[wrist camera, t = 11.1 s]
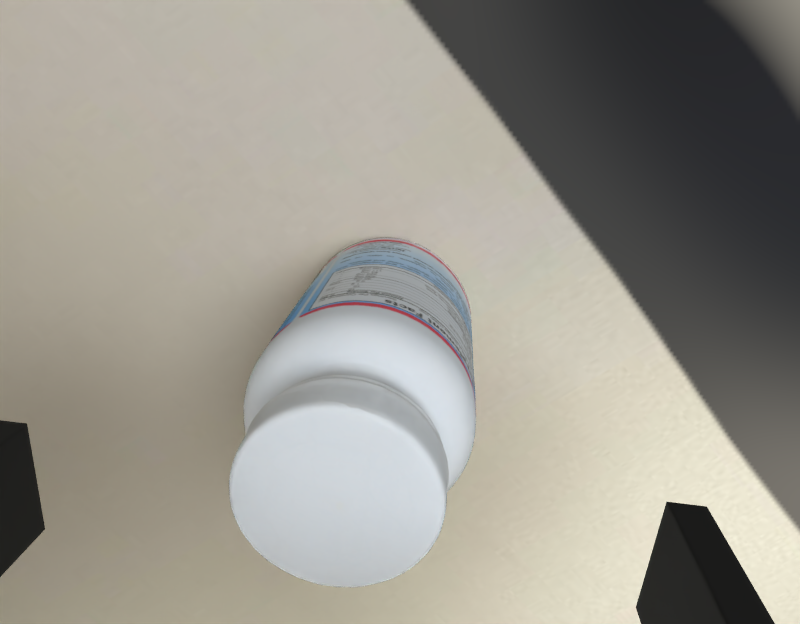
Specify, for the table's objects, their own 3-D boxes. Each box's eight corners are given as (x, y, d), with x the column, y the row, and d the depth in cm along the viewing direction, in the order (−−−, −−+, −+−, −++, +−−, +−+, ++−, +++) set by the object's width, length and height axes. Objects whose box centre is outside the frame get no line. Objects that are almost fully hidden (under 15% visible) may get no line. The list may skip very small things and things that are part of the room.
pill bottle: (379, 408, 24) (318, 654, 14) (280, 294, 23) (132, 472, 13) (503, 328, 23) (541, 541, 12) (405, 199, 21) (352, 314, 11)
